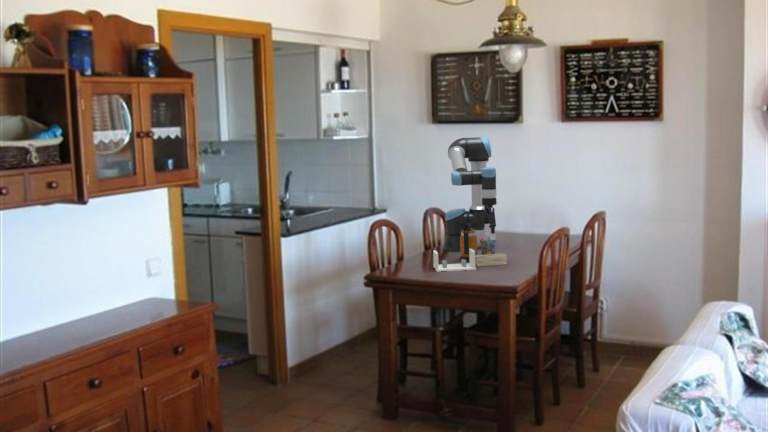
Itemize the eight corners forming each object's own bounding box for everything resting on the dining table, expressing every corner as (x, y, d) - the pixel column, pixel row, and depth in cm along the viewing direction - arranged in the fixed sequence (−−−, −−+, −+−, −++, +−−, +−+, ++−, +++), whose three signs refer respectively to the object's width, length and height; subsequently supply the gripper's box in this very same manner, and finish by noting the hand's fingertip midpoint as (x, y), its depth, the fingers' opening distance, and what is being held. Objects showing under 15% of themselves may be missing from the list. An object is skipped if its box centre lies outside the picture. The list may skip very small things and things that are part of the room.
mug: (493, 259, 427) (493, 240, 426) (477, 259, 431) (476, 239, 430) (500, 255, 438) (500, 236, 437) (484, 255, 442) (483, 236, 441)
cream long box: (474, 264, 417) (473, 255, 417) (503, 262, 420) (503, 253, 419) (477, 266, 411) (477, 257, 411) (507, 264, 414) (506, 255, 413)
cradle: (433, 266, 415) (432, 249, 414) (471, 264, 416) (470, 247, 415) (436, 272, 401) (436, 254, 400) (476, 270, 402) (475, 252, 401)
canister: (478, 258, 434) (478, 221, 431) (474, 262, 423) (473, 224, 421) (462, 257, 437) (461, 221, 434) (458, 261, 426) (457, 224, 424)
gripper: (477, 195, 423) (478, 234, 426) (486, 199, 398) (487, 241, 401) (491, 194, 424) (492, 234, 426) (501, 199, 399) (502, 241, 401)
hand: (490, 238), depth 414 cm, fingers open, 13 cm apart
